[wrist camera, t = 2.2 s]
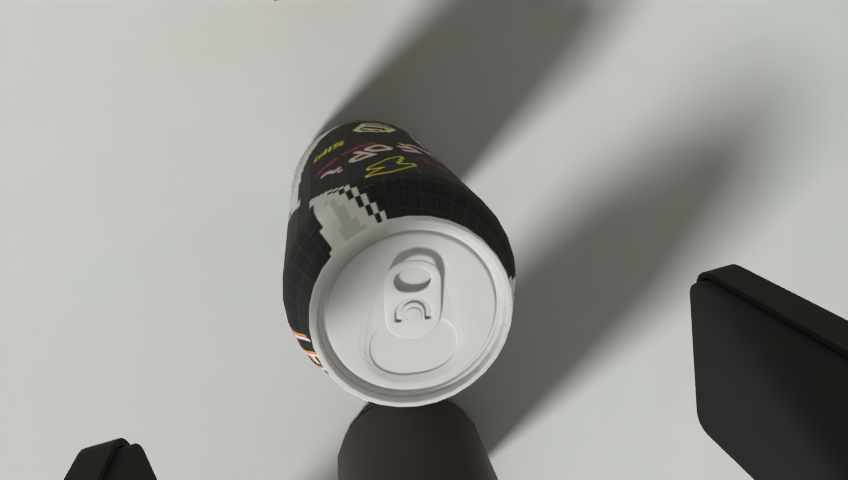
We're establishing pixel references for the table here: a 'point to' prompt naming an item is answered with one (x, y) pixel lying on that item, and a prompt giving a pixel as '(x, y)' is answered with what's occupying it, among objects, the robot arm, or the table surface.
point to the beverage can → (393, 268)
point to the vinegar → (414, 445)
